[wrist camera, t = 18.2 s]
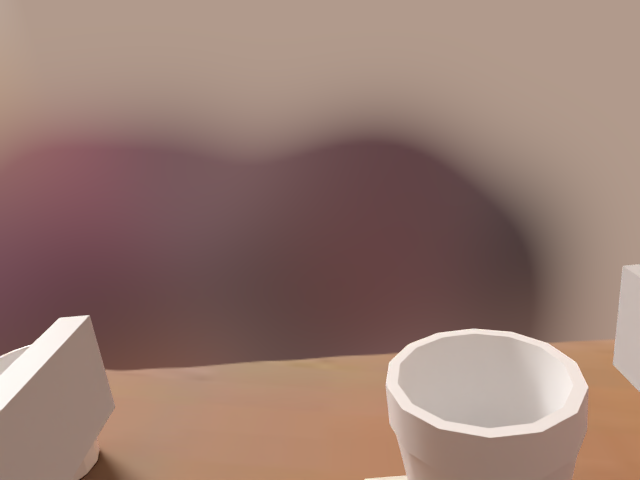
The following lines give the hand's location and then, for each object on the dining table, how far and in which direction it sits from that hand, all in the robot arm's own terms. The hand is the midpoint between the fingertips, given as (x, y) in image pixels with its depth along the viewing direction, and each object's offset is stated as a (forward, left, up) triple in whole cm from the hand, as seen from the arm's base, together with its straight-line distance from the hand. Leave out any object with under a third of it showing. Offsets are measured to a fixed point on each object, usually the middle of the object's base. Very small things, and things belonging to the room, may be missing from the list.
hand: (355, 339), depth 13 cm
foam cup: (+11, +5, -22) cm, 25 cm away
